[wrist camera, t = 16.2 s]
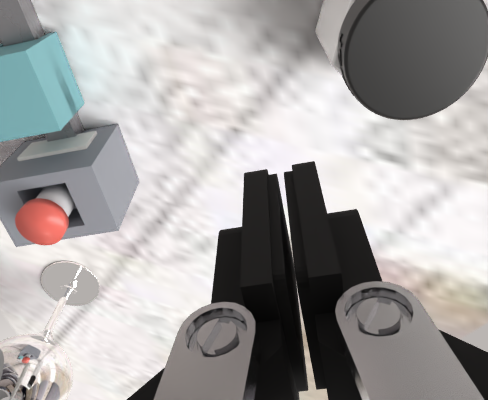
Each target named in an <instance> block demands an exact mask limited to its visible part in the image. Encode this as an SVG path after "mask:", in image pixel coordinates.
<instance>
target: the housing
mask: <svg viewBox="0 0 488 400" xmlns="http://www.w3.org/2000/svg"><path fill="white" fill-rule="evenodd" d="M61 183H66V186H67V188H68V190H69V192H70V194H71V196H72V198H73V201H74V203H75V207H74V208H73V210H72V212H71V213H70V215H69V217H68V219H69V226H68V228H67V230H66V232H65V234H64V235H63V237H62V239H68V238H75V237H81V236H87V235H93V234H100V233H106V232H112V231H119V228H120V226H121V224H122V221H123V219H124V216H125V214H126V212H127V209H128V207H129V205H130V202H131V200H132V198H133V195H134V193H135V191H136V188H137V186H138V183H139V179H138V177H137V174H136V171H135V169H134V166H133V163H132V160H131V158H130V155H129V152H128V150H127V147H126V144H125V141H124V139H123V136H122V133H121V130H120V128H119V125H118V124H115V125H110V126H104V127H99V128H94V129H88V130H84V131H83V133H80V134H77V135H76V136H75V137H70V138H65V139H59V140H54V141H49V142H47V139H46V138H40V139H35V140H30V141H25V142H24V143H23V144H22V145H21V146H20V147H19V148H18V149H17V150H16V151H15V152H14V153H13V154H12V155H11V156H10V157H9V158H8V159H7V160H6V161H5V162H4V163H3V164H2V165H1V166H0V220H1V221H2V223H3V225H4V227H5V228H6V230H7V232H8V234H9V235H10V237H11V239H12V241H13V242H14V244H15V246H16V247H18V246H24V245H31V244H35V243H33V242H31V241H29V240H27V239H26V238H24V237H23V236H22V235H21V234H20V232H19V231H18V229H17V227H16V224H15V217H16V214H17V213H18V211H19V210H20V209H21V208H22V206H23V205H24V204H25V203H26V202H27V201H29V200H32V199H36V197H37V196H38V195H39V193H40V192H41V191H42V189H43V188H44V187H45V186H50V185H56V184H61ZM62 239H61V240H62Z"/></svg>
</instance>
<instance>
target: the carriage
mask: <svg viewBox="0 0 488 400" xmlns="http://www.w3.org/2000/svg"><path fill="white" fill-rule="evenodd" d="M83 105H84V101H83V98H82V96H81V93H80V91H79V88H78V86H77V83H76V80H75V78H74V75H73V73H72V70H71V68H70V65H69V63H68V60H67V58H66V55H65V53H64V50H63V48H62V45H61V43H60V40H59V38H58V35H57V33H56V32H53V33H49V34H46V35H44V36H42V37H41V38H39V39H37V40H32V41H27V42H23V43H18V44H13V45H9V46H3V44H0V142H3V141H8V140H13V139H18V138H24V137H29V136H34V135H39V134H45V133H50V132H55V131H61V130H62V128H63V127H64V126H65V125H66V124H67V123H68V122H69V120H70V119H71V118H72V117H73V116H74V115H75V114H76V113H77V111H78V110H79V109H80V108H81V107H82V106H83Z"/></svg>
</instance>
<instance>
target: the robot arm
mask: <svg viewBox="0 0 488 400" xmlns="http://www.w3.org/2000/svg"><path fill="white" fill-rule="evenodd" d="M292 170H293V171H289V172H284V179H285V188H286V197H287V206H288V215H289V224H290V233H291V241H292V250H293V257H292V252H291V246H290V241H289V236H288V230H287V225H286V220H285V214H284V209H283V204H282V198H281V193H280V188H279V182H278V177H277V174H272V175H268V171H267V169H265V170H260V171H254V172H248V173H244V194H243V220H242V227H238V228H231V229H225V230H220V231H219V236H218V245H217V255H216V264H215V273H214V282H213V291H212V300H211V304H209V305H207V306H204V307H201V308H200V309H198V310H197V311H195V312H194V313H192V314H191V315H190V316H189V317H188V318H187V319H186V320H185V321H184V322H183V324H182V325H181V327H180V329H179V331H178V333H177V336H176V339H175V341H174V344H173V347H172V350H171V353H170V355H169V358H168V361H167V364H166V366H165V368H164V369H162V370H161V371H160V372H159V373H158V374H157V375H155V376H154V377H153V378H152V379H151V380H149V381H148V382H147V383H146V384H145V385H144V386H142V387H141V388H140V389H139V390H138V391H136V392H135V393H134V394H133V395H132V396H131V397H129V398H128V399H127V400H299V391H308V383H307V374H306V365H305V356H304V347H303V338H302V330H301V321H300V312H299V303H298V294H299V299H300V305H301V310H302V315H303V321H304V326H305V331H306V336H307V342H308V347H309V352H310V358H311V363H312V368H313V374H314V379H315V384H316V389H326V388H327V393H328V399H329V400H488V352H486V351H483V350H481V349H479V348H477V347H475V346H473V345H471V344H469V343H466V342H464V341H462V340H460V339H458V338H456V337H454V336H451V335H449V334H447V333H445V332H443V331H441V330H439V329H438V328H437V327H436V325H435V324H434V322H433V321H432V319H431V318H430V316H429V315H428V313H427V312H426V310H425V309H424V307H423V306H422V304H421V303H420V301H419V300H418V299H417V298H416V297H415V296H414V294H413V293H412V292H410V291H409V290H407V289H405V288H404V287H402V286H399V285H396V284H393V283H390V282H382V279H381V276H380V273H379V270H378V268H377V265H376V262H375V259H374V256H373V253H372V250H371V247H370V244H369V241H368V239H367V236H366V233H365V230H364V227H363V224H362V221H361V218H360V215H359V213H358V210H357V209H354V210H347V211H341V212H335V213H328V214H327V211H326V207H325V203H324V199H323V195H322V190H321V186H320V182H319V178H318V174H317V170H316V166H315V162H314V161H313V162H307V163H301V164H295V165H292ZM293 259H294V263H293ZM294 268H295V269H294ZM296 282H297V285H296ZM297 288H298V294H297Z"/></svg>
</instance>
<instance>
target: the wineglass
mask: <svg viewBox="0 0 488 400" xmlns="http://www.w3.org/2000/svg"><path fill="white" fill-rule="evenodd" d="M41 283H42V286H43V288H44V290H45V291H46V293H47V294H48V295H49V296H50V297H52V298H53V299H55V300H56V301H58V303H57V305H56V307H55V309H54V311H53V313H52V315H51V317H50V319H49V321H48V323H47V325H46V327H45V329H44V330H43V331H42V332H40V333H37V334H23V335H17V336H13V337H10V338H7V339H5V340H3V341H1V342H0V400H67V398H68V396H69V394H70V392H71V388H72V384H73V370H72V366H71V363H70V360H69V358H68V356H67V354H66V353H65V351H64V350H63V349H62V347H61V346H60V345H59V344H58V343H57V342H55V341H54V339H53V337H52V332H53V330H54V327H55V325H56V323H57V321H58V319H59V317H60V315H61V313H62V310H63V308H64V306H65V304H67V305H72V306H80V305H85V304H88V303H90V302H92V301H93V300H95V299H96V297H97V296H98V294H99V291H100V284H99V281H98V279H97V277H96V276H95V274H94V273H93V272H92V271H91V270H89V269H88V268H87V267H85V266H83V265H81V264H78V263H75V262H70V261H60V262H55V263H53V264H51V265H49V266H48V267H46V268H45V270H44V271H43V273H42V276H41Z"/></svg>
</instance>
